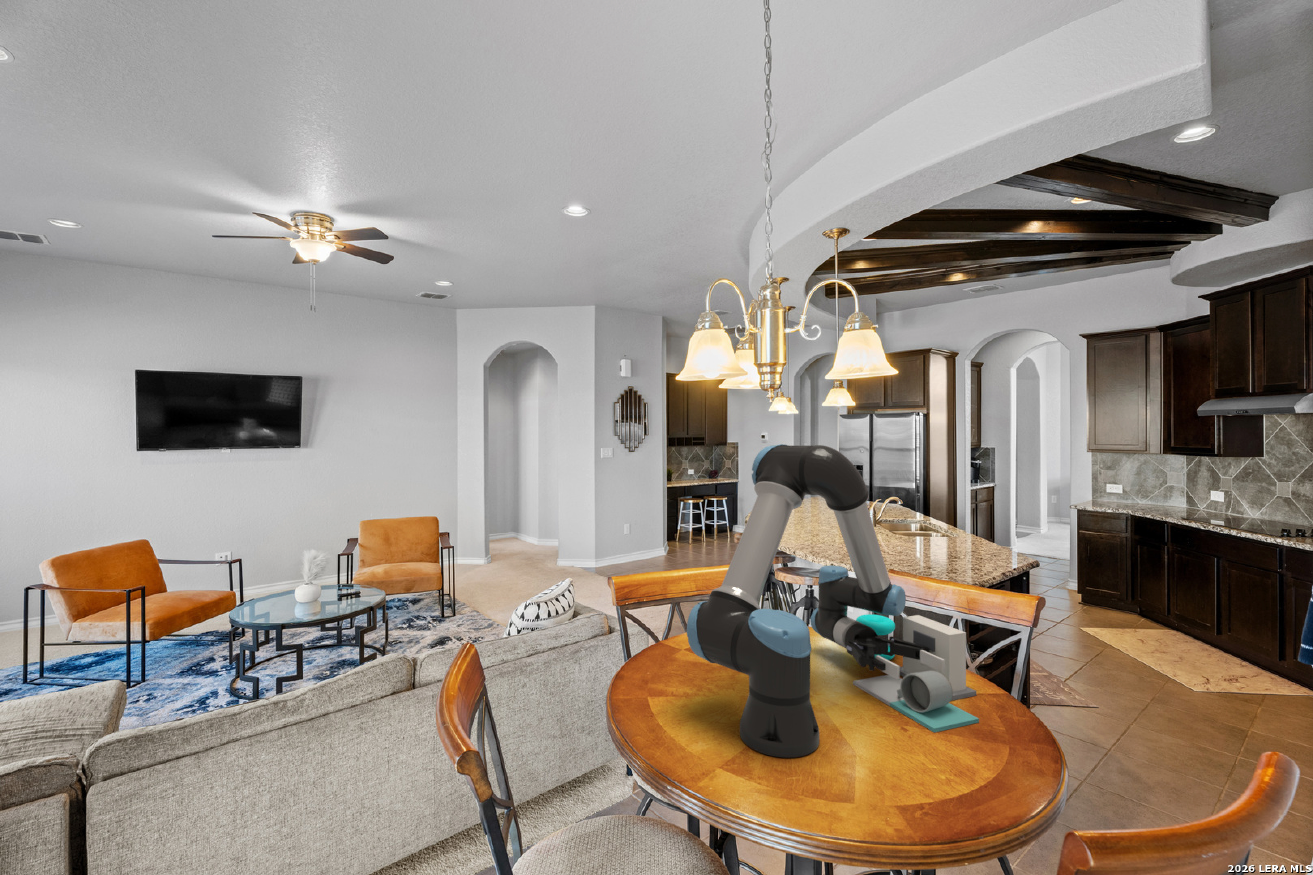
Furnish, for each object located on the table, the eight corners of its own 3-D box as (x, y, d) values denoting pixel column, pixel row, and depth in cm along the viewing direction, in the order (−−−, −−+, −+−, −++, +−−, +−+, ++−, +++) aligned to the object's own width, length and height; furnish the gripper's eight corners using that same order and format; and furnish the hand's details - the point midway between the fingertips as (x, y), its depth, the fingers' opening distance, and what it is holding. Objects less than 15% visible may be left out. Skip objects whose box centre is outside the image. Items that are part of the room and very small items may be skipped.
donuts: (903, 621, 152) (874, 626, 148) (903, 659, 152) (874, 665, 148) (875, 611, 161) (847, 615, 157) (875, 646, 161) (847, 651, 157)
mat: (934, 732, 114) (934, 728, 114) (852, 684, 136) (853, 680, 136) (978, 722, 118) (978, 718, 118) (893, 677, 140) (892, 673, 140)
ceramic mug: (956, 710, 121) (955, 673, 122) (931, 719, 117) (930, 681, 118) (912, 691, 131) (911, 657, 131) (887, 699, 127) (887, 664, 127)
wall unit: (949, 700, 128) (949, 637, 128) (893, 671, 144) (893, 615, 144) (976, 695, 131) (976, 633, 131) (918, 667, 147) (918, 612, 147)
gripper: (894, 647, 149) (964, 680, 128) (815, 657, 141) (875, 693, 120) (894, 618, 149) (964, 646, 128) (815, 626, 141) (875, 657, 120)
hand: (921, 669), depth 124 cm, fingers open, 12 cm apart
